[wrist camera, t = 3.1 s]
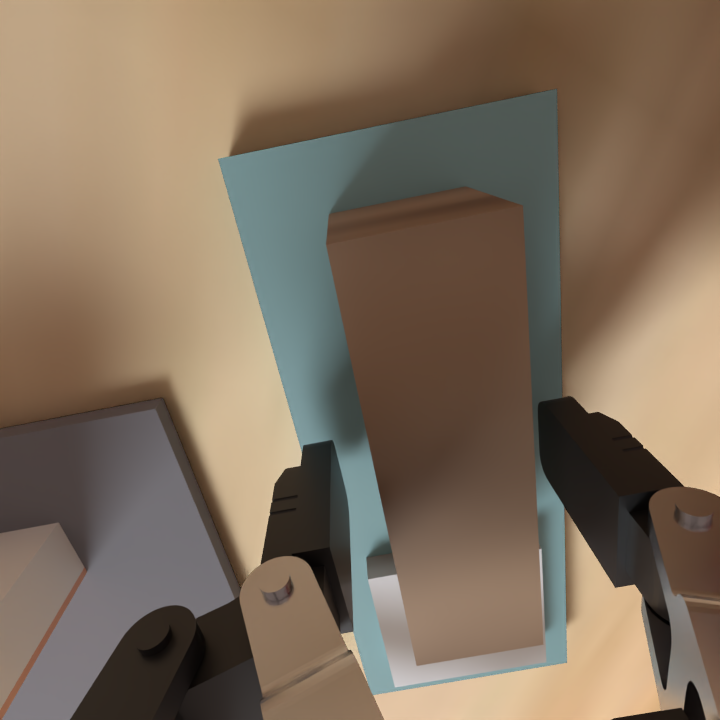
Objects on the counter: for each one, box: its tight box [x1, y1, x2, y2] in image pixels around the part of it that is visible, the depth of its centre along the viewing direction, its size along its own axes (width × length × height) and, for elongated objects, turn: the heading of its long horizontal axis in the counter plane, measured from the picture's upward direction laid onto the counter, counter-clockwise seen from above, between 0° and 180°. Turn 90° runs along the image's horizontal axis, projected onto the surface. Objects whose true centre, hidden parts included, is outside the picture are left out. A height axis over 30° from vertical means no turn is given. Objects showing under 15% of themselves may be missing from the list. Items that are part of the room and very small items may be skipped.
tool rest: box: [218, 89, 567, 695], centre depth 14 cm, size 18×7×1 cm, turn 11°
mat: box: [0, 398, 241, 720], centre depth 16 cm, size 15×14×1 cm
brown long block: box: [326, 186, 546, 687], centre depth 12 cm, size 15×5×4 cm, turn 11°
